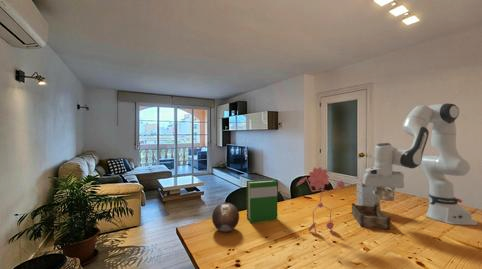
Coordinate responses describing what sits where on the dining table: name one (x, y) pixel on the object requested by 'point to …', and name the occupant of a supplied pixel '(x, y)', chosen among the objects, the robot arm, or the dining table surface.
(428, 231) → the dining table surface
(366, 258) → the dining table surface
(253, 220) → the hardback book
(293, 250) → the dining table surface
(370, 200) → the cracker box
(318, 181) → the figurine
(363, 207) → the walnut crate
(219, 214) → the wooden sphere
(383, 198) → the birch crate
